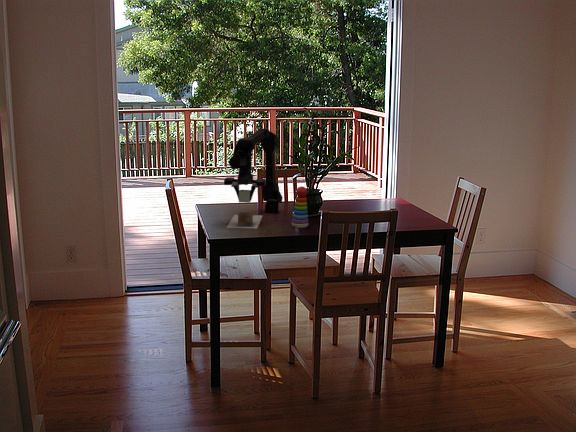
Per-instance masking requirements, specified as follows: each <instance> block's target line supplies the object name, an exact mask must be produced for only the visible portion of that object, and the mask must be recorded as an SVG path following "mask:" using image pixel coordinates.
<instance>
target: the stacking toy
mask: <svg viewBox="0 0 576 432" xmlns="http://www.w3.org/2000/svg"><path fill="white" fill-rule="evenodd" d="M295 193H296V197H295V202H294V204H295V205H294V209H293V214H292V219H291V226H292V227H294V228H298V229H299V228H300V229H301V228H308V226H309V218H308V217H309V214H308V202H307V199H308V198H307V197H306V196H307V194H308V190H307V188H306V187H305V186H298V187H297V188H296V191H295Z"/></svg>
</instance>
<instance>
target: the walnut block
mask: <svg viewBox="0 0 576 432" xmlns="http://www.w3.org/2000/svg"><path fill="white" fill-rule="evenodd" d="M237 215H238V226H251V225H252V224H253V215H254V213H253V212H239V213H238V214H237Z"/></svg>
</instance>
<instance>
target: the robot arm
mask: <svg viewBox="0 0 576 432" xmlns="http://www.w3.org/2000/svg"><path fill="white" fill-rule="evenodd" d="M258 143H260V144H261V149H262V151H263V153H264V156H265V178H263V177H261V178H260V177H257V178H256V179H254V174H252V161H253V160H252V158H253V156H254V154H253V151H254V150H255V149H256V145H257V144H258ZM279 144H280V138H279V137H278V136H277V134H276V133H274V132H272V131H270V129H268V128H260V127H259V128H258V129H257V130H256V131H255V132H253V133H252V134H251V135H248V136H246V137H241V138H238V140H237V142H236V143H235V146H234V150H233V152H232V156H231V157H230V158H229V159H228V166H229V167H230V168H232V169H233V170H236V169H238V174H237V179H235V177H232V176H230V177H228V176H227V177H225V178H224V179H223V185H224V186H231V188H233V189H234V191H235V193H236V196H237V199H238V201H239V191H240V190H241V189H240V186H241V185H245V186H247V185H251V187H250V190H251V194H250V200H251V201H252V199H253V196H254V193H255V191H256V189H257V188H259V187H261V196H262V201H263V202H265V204H264V213H266V214H267V213H268V214H278V213H280V203H282V202H283V196H282V193H281V191H280V187H279V185H278V183H277V181H276V152H277V150H278V149H279Z"/></svg>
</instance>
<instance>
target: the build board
mask: <svg viewBox="0 0 576 432" xmlns="http://www.w3.org/2000/svg"><path fill="white" fill-rule="evenodd" d="M262 218H263V215H262V214H261V215H256V214H255V215H254V214H253V224H252V225H251V226H238V214H233V216H232V218H231V220H229V223H228V224H227V226H226V227H225V228H227V229H229V228H230V229H258V227H259V226H260V223H261V221H262Z"/></svg>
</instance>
